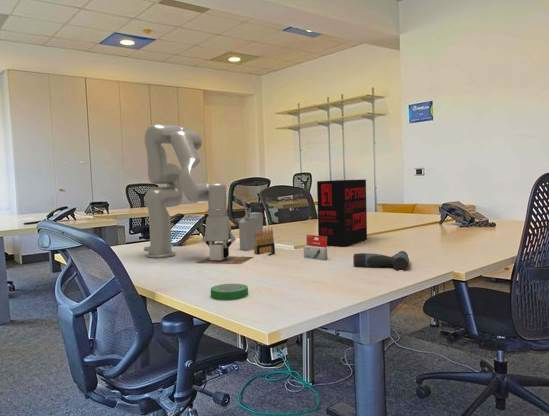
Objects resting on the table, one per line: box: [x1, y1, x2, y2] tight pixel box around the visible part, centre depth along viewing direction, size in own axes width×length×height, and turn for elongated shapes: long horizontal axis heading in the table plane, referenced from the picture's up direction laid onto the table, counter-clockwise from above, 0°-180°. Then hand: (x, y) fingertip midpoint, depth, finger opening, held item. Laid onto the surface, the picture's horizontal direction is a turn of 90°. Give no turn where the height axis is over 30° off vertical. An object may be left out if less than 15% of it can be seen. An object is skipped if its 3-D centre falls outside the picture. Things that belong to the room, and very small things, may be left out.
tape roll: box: [210, 283, 249, 301], centre depth 135 cm, size 11×11×3 cm
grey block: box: [208, 241, 230, 260], centre depth 188 cm, size 5×8×6 cm, turn 163°
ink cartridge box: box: [303, 234, 329, 261], centre depth 190 cm, size 2×11×10 cm, turn 47°
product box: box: [316, 179, 368, 248], centre depth 232 cm, size 26×14×32 cm, turn 145°
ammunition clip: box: [253, 227, 276, 256], centre depth 202 cm, size 11×2×12 cm, turn 132°
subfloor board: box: [194, 255, 255, 265], centre depth 187 cm, size 20×16×1 cm
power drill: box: [352, 250, 410, 271], centre depth 173 cm, size 5×19×20 cm
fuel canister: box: [238, 198, 264, 251], centre depth 222 cm, size 15×5×25 cm, turn 144°
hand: (219, 256), depth 188 cm, fingers closed on grey block, 5 cm apart
